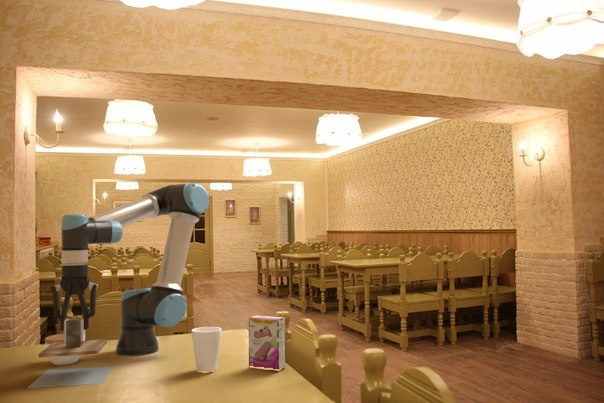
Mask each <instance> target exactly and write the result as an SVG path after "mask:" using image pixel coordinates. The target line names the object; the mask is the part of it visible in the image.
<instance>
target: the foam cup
mask: <svg viewBox="0 0 604 403" xmlns="http://www.w3.org/2000/svg"><path fill="white" fill-rule="evenodd" d="M222 332H223V330H222V327H219V326H218V327H217V326H202V327H196V328H192V329H191V339H192V344H193V345H192V346H193V353H194V361H195V368H196V369H195V370H196V372H197V371H212V370H215V369H217V370H218V363H219V355H220V348H221V340H222V335H223V333H222Z"/></svg>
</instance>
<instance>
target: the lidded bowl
mask: <svg viewBox="0 0 604 403" xmlns="http://www.w3.org/2000/svg"><path fill="white" fill-rule="evenodd" d="M86 336H87V335H86V334H85V340H84V341H86ZM54 342H64V333H59V334H53V335H49V336H47V337H45V338H44V343H45V344H44V346H45V347H44V348H45V349H46V348H47V347H48V346H50V345H51V344H52V343H54ZM45 349H44V350H45ZM82 356H83V355H72V356H56V357H46V358H47V359H48V361H49V362H50V363H51V364H52V365H54V366H55V365H56V366H66V365H72V364H75V363H77V362H78V361H79V360H80V359H81V358H82Z"/></svg>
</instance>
